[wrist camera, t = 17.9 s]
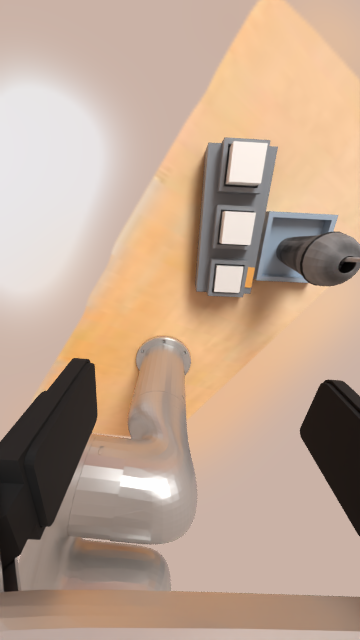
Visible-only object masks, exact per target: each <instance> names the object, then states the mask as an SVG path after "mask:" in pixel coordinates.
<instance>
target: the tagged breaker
mask: <svg viewBox="0 0 360 640" xmlns="http://www.w3.org/2000/svg"><path fill="white" fill-rule="evenodd" d="M243 268H244V267H243V266H241V265H236V264H215V268H214V277H213V286H212V289H213V291H214V292H231V293H239V292H240V286H241V280H242V274H243Z"/></svg>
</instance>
